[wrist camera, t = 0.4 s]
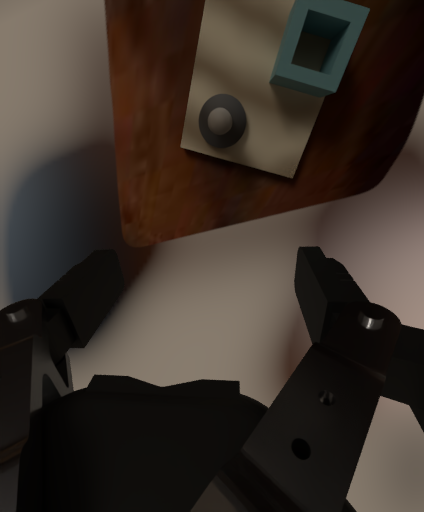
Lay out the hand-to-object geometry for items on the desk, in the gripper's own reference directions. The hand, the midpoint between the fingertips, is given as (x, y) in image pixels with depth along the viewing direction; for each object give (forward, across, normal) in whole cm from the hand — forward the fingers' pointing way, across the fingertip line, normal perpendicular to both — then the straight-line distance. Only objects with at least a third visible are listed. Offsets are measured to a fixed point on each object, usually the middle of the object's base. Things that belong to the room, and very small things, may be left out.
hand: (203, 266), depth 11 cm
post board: (+26, -4, -8) cm, 28 cm away
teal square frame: (+25, -9, -11) cm, 28 cm away
